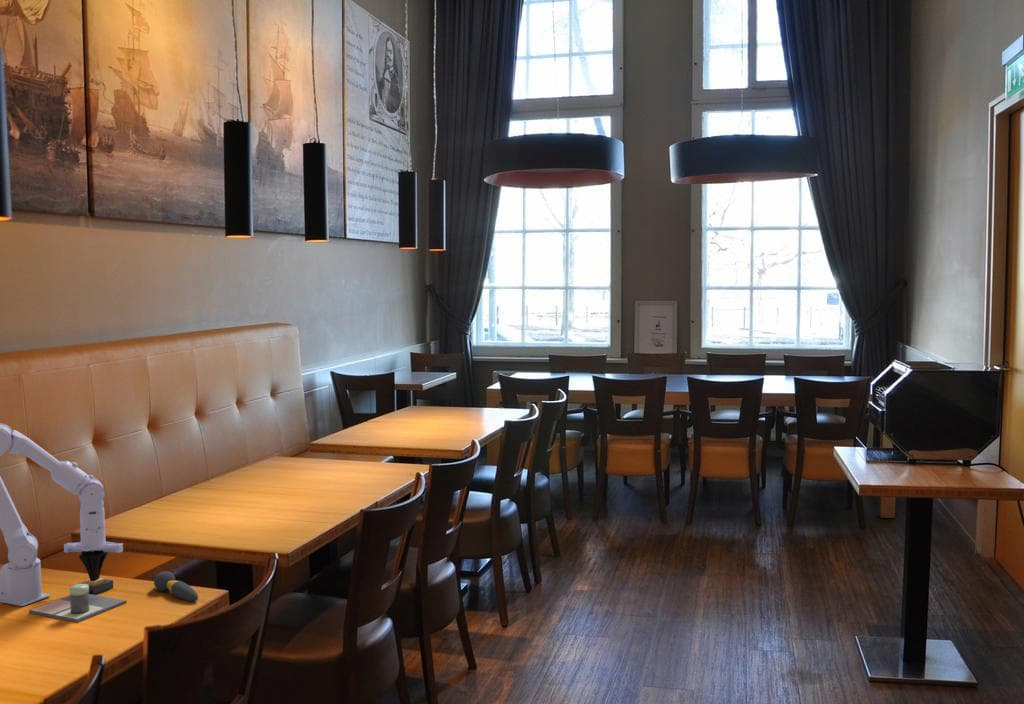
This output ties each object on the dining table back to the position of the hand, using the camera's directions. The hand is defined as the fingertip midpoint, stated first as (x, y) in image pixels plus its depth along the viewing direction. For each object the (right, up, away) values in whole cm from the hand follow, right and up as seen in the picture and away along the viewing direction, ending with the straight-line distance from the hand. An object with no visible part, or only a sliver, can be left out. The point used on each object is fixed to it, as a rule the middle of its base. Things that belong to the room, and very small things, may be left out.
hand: (94, 579), depth 228 cm
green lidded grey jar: (+5, -3, -17) cm, 18 cm away
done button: (0, -2, 0) cm, 2 cm away
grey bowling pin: (+22, -3, -3) cm, 23 cm away
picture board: (+2, -4, -13) cm, 13 cm away
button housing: (0, -3, 0) cm, 3 cm away
